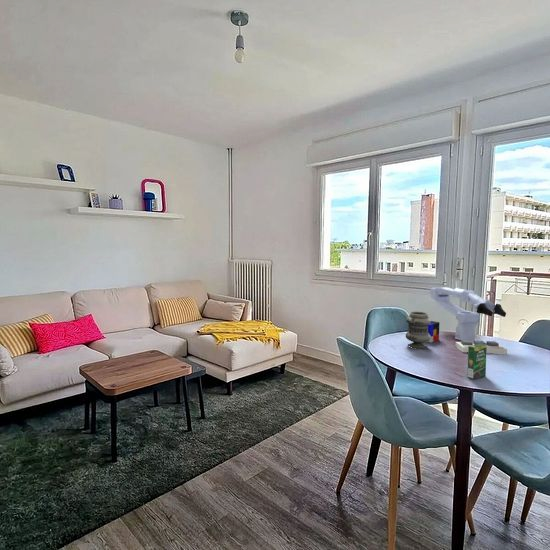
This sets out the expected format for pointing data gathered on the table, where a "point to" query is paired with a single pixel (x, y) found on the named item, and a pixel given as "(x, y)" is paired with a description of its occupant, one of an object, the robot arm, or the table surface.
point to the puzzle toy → (433, 331)
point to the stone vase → (418, 329)
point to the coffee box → (477, 361)
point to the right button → (492, 343)
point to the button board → (489, 350)
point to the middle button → (479, 342)
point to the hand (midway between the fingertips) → (498, 314)
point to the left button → (466, 342)
